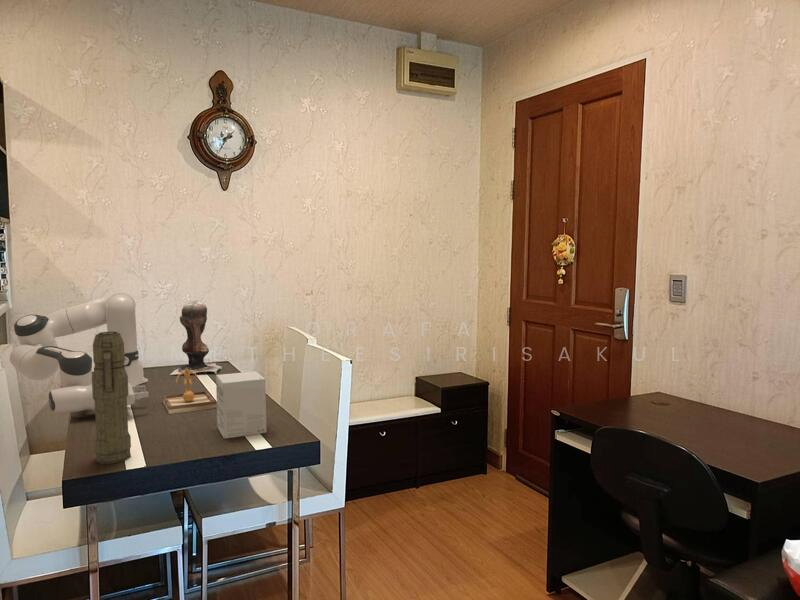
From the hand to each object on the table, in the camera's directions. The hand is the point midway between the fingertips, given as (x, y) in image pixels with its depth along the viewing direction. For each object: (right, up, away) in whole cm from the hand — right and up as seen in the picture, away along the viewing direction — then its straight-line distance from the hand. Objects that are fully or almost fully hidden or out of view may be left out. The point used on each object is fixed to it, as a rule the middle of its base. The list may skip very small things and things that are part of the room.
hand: (147, 391), depth 204 cm
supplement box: (+40, -9, -22) cm, 46 cm away
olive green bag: (+12, -11, -47) cm, 49 cm away
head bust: (-6, -1, +70) cm, 70 cm away
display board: (+12, -6, +7) cm, 16 cm away
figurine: (+12, -5, +7) cm, 15 cm away
